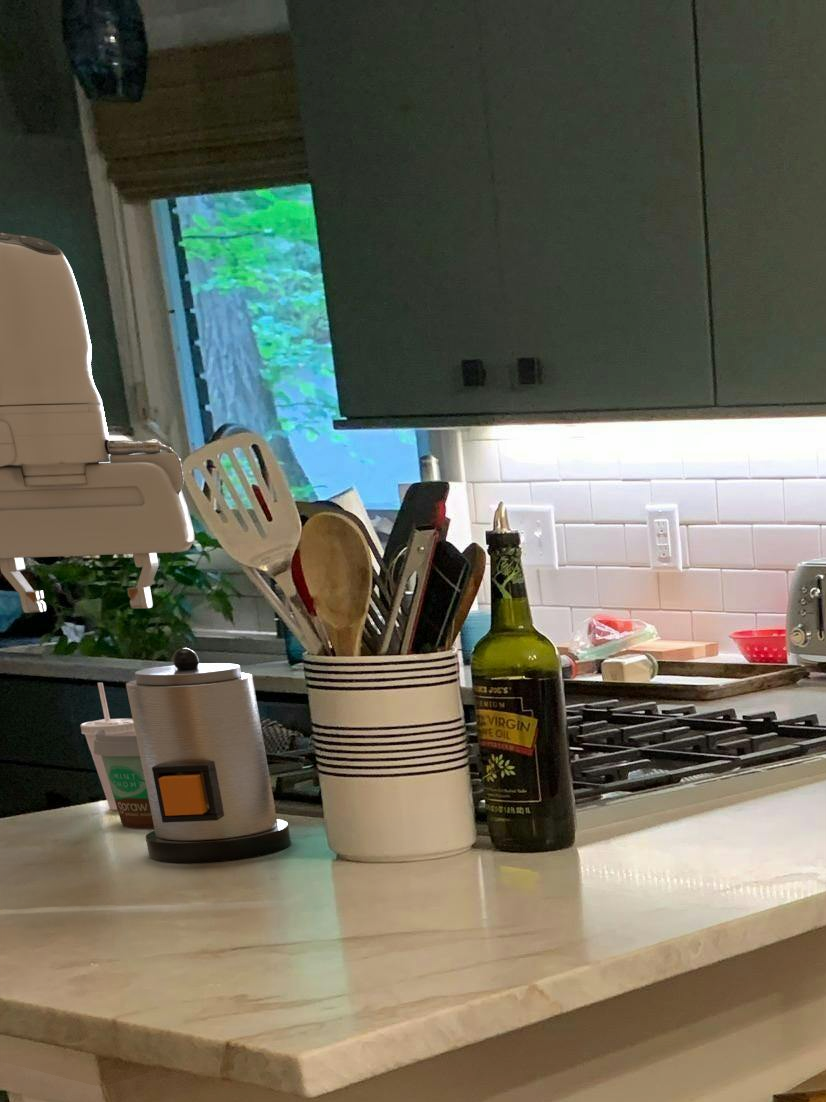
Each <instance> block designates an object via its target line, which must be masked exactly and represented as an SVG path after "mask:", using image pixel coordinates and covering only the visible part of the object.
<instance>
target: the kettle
mask: <svg viewBox="0 0 826 1102" xmlns="http://www.w3.org/2000/svg"><path fill="white" fill-rule="evenodd" d="M172 661H173V664H172V665H164V666H157V667H155V666H154V667H150V668H143V669H139V670H136V671H135V672H134V678H135V679H133V680H131V681H128V682H126V683H125V687H126V693H127V696H128V702H129V703H128V704H129V707H130V713H131V719H133V723H134V728H135V733H136V738H137V743H138V748H139V753H140V758H141V763H142V768H143V773H144V778H145V783H146V789H147V794H148V799H149V804H150V809H151V814H152V819H153V824H154V828H153V829H154V830H152V831H150V832H148V833H147V834H146V835H145V841H146V847H147V852H148V856H149V858H150V859H151V860H154V861H157V862H163V863H170V864H171V863H173V864H204V863H220V862H229V861H236V860H243V859H251V858H256V857H262V856H265V855H270V854H274V853H277V852H280V851H282V850H284V849H287V848H288V847H290V845H291V844H292V840H291V834H290V827H289V824H288V822H287V821H285V820H283V819H278V818H277V812H276V811H277V810H276V806H275V800H274V795H273V794H274V793H273V789H272V782H271V775H270V772H269V766H268V765H269V764H268V759H267V758H268V757H267V753H266V747H265V741H264V736H263V730H262V724H261V719H260V711H259V708H258V706H259V705H258V701H257V695H256V688H255V683H254V677H253V675H252V674H251V673H247V672H246V673H245V672H242V670H241V666H240V665H239V664H236V663H226V662H224V663H221V662H215V663H213V662H212V663H206V662H205V663H200V659H199V656H198V654H197V653H196V651H194V650H193V649H190V648H187V647H182V648H178V649H177V650H176V651H175V652H174V654H173V657H172ZM193 774H201V778H202V783H203V788H204V794H205V799H206V805H207V810H208V811H207V812H205V813H203V814H196V815H172V816H166V815H165V810H164V805H163V800H162V795H161V790H160V784H159V778H161V777H163V776H169V775H193Z"/></svg>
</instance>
